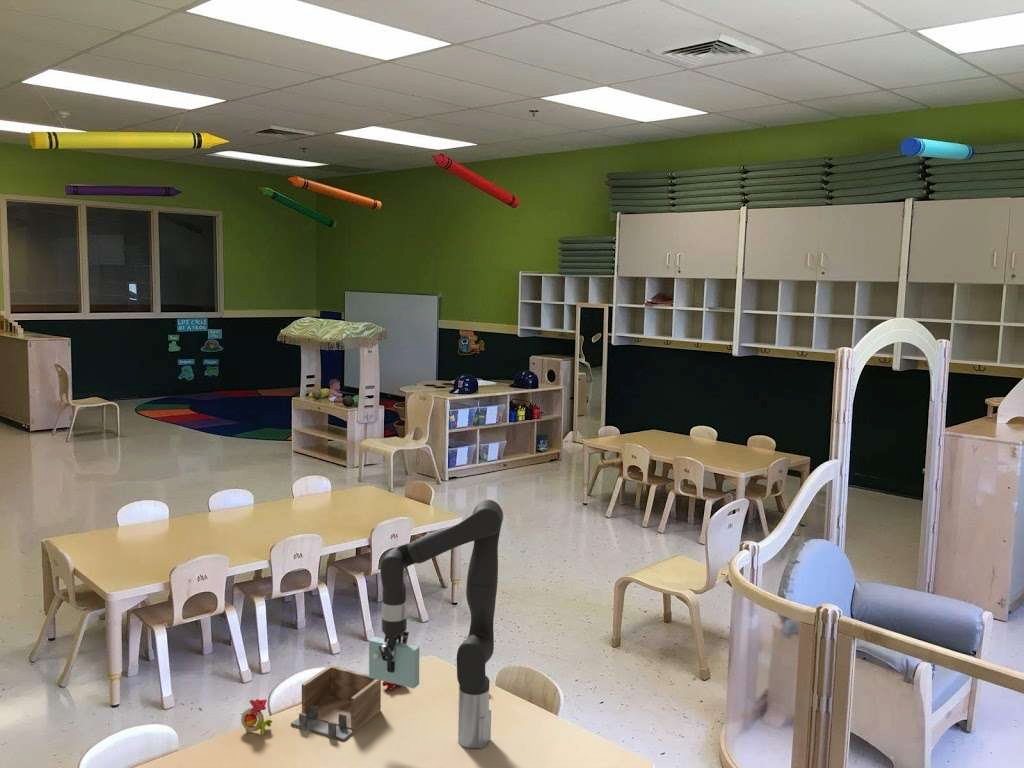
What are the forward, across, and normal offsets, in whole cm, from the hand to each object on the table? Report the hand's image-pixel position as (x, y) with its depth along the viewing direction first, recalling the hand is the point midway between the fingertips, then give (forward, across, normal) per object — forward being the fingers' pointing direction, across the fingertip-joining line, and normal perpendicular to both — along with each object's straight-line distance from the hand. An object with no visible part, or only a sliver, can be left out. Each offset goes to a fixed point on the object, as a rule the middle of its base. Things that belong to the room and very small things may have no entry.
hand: (394, 669), depth 262 cm
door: (+4, 0, 0) cm, 4 cm away
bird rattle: (+22, -17, +39) cm, 48 cm away
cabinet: (+22, +1, +22) cm, 31 cm away
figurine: (+22, +30, +19) cm, 42 cm away
